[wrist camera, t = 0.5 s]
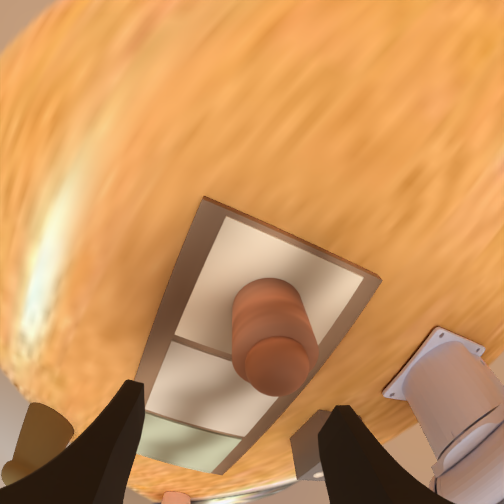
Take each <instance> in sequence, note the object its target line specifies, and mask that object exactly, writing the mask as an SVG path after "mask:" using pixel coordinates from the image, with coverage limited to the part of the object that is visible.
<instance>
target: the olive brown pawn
mask: <svg viewBox="0 0 504 504" xmlns="http://www.w3.org/2000/svg"><path fill="white" fill-rule="evenodd" d="M73 434H74V429H73V427H72V425H71V424H70V423H69V422H68V420H66V419H65V418H64V417H63V416H62V415H61V414H59V413H58V412H56V411H55V410H53V409H51V408H50V407H48V406H46V405H43V404H40V403H31V404H30V405H29V408H28V410H27V413H26V416H25V419H24V422H23V425H22V429H21V431H20V435H19V438H18V441H17V445H16V448H15V452H14V455H13V459H12V460H11V461H8V462H7V463H6V464H5V465H4V467H3V469H2V474H1V476H2V480H3V482H4V483H5V485H6V486H7V485H10V484H12V483H14V482H16V481H18V480H20V479H22V478H24V477H25V476H27V475H29V474H30V473H32V472H34V471H35V470H37V469H39V468H40V467H42V466H43V465H45V464H46V463H48V462H49V461H50V460H52V459H53V458H54V457H56V456H57V455H58V454H60V453H61V452H62V451H63V450H64V449H65V448H66V446H67V444H68V443H69V441H70V439H71V438H72V436H73Z"/></svg>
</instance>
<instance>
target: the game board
mask: <svg viewBox="0 0 504 504" xmlns="http://www.w3.org/2000/svg"><path fill="white" fill-rule="evenodd" d="M262 278H277V279H281V280H284V281H286V282H288V283H290V284H291V285H292V286H294V287H295V288H296V290H297V291H298V293H299V294H300V297H301V299H302V302H303V305H304V308H305V310H306V313H307V316H308V319H309V321H310V324H311V327H312V330H313V333H314V335H315V338H316V341H317V344H318V348H319V356H318V360H317V362H316V364H315V366H314V368H313V369H312V370H311V371H310V372H309V373H308V376H307V378H306V380H305V382H304V383H303V384H302V386H301V387H300V388H299V389H297V390H296V391H295V392H293V393H291V394H289V395H286V396H281V397H272V396H267V395H265V394H262V393H260V392H259V391H257V390H256V389H255V388H254V387H253V386H252V385H251V384H250V383H248V382H246V381H245V380H243V379H242V378H241V377H240V376H239V375H238V374H237V373H236V371H235V369H234V367H233V364H232V306H233V301H234V299H235V297H236V295H237V293H238V292H239V291H240V290H241V289H242V288H243V287H244V286H245V285H247V284H248V283H250V282H252V281H255V280H258V279H262ZM382 281H383V280H382V279H381V278H380V277H379V276H378V275H377V274H375V273H373V272H371V271H369V270H366V269H364V268H362V267H360V266H358V265H356V264H354V263H352V262H350V261H348V260H346V259H343V258H341V257H339V256H337V255H335V254H333V253H331V252H329V251H326V250H324V249H322V248H320V247H318V246H316V245H313V244H311V243H309V242H307V241H305V240H303V239H300V238H298V237H296V236H294V235H292V234H290V233H287V232H285V231H283V230H281V229H278V228H276V227H274V226H272V225H270V224H267V223H265V222H263V221H261V220H258V219H256V218H254V217H252V216H249V215H247V214H245V213H242V212H240V211H238V210H236V209H233V208H231V207H229V206H226V205H224V204H222V203H220V202H217V201H215V200H213V199H210V198H208V197H206V196H204V197H203V199H202V201H201V203H200V206H199V208H198V210H197V213H196V215H195V218H194V220H193V222H192V225H191V227H190V230H189V232H188V234H187V237H186V239H185V242H184V244H183V247H182V249H181V252H180V254H179V257H178V259H177V262H176V264H175V267H174V269H173V272H172V275H171V277H170V280H169V282H168V285H167V288H166V290H165V293H164V296H163V298H162V301H161V304H160V307H159V309H158V312H157V315H156V318H155V321H154V323H153V326H152V329H151V332H150V335H149V338H148V341H147V344H146V347H145V350H144V353H143V356H142V359H141V362H140V365H139V368H138V371H137V374H136V377H135V380H134V381H137V382H141V383H144V398H145V419H144V425H143V430H142V435H141V439H140V443H139V446H138V449H137V452H136V454H139V455H142V456H145V457H148V458H152V459H155V460H158V461H162V462H165V463H169V464H173V465H176V466H180V467H184V468H188V469H193V470H197V471H202V472H206V473H213V474H218V475H223V474H224V473H225V472H226V471H227V470H228V469H229V468H230V467H231V466H232V465H234V464H235V463H236V462H237V461H238V460H239V459H240V458H241V457H242V456H243V455H244V454H245V453H246V452H247V451H248V450H249V449H250V448H251V447H252V446H253V445H254V444H255V442H256V441H257V440H258V439H259V438H260V437H261V436H262V435H263V434H264V433H265V432H266V431H267V430H268V429H269V428H270V427H271V426H272V424H273V423H274V422H275V421H276V420H277V419H278V418H279V417H280V416H281V414H282V413H283V412H284V411H285V410H286V409H287V408H288V407H289V405H290V404H291V403H292V402H293V401H294V400H295V398H296V397H297V396H298V395H299V394H300V393H301V391H302V390H303V389H304V388H305V387H306V385H307V384H308V383H309V382H310V380H311V379H312V378H313V377H314V375H315V374H316V373H317V372H318V370H319V369H320V368H321V367H322V365H323V364H324V363H325V362H326V360H327V359H328V358H329V356H330V355H331V354H332V352H333V351H334V350H335V348H336V347H337V346H338V344H339V343H340V342H341V340H342V339H343V338H344V336H345V335H346V334H347V332H348V331H349V329H350V328H351V327H352V325H353V324H354V322H355V321H356V320H357V318H358V317H359V315H360V314H361V312H362V311H363V309H364V308H365V306H366V305H367V303H368V302H369V300H370V299H371V297H372V296H373V294H374V293H375V291H376V290H377V288H378V287H379V285H380V284H381V282H382Z"/></svg>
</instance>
